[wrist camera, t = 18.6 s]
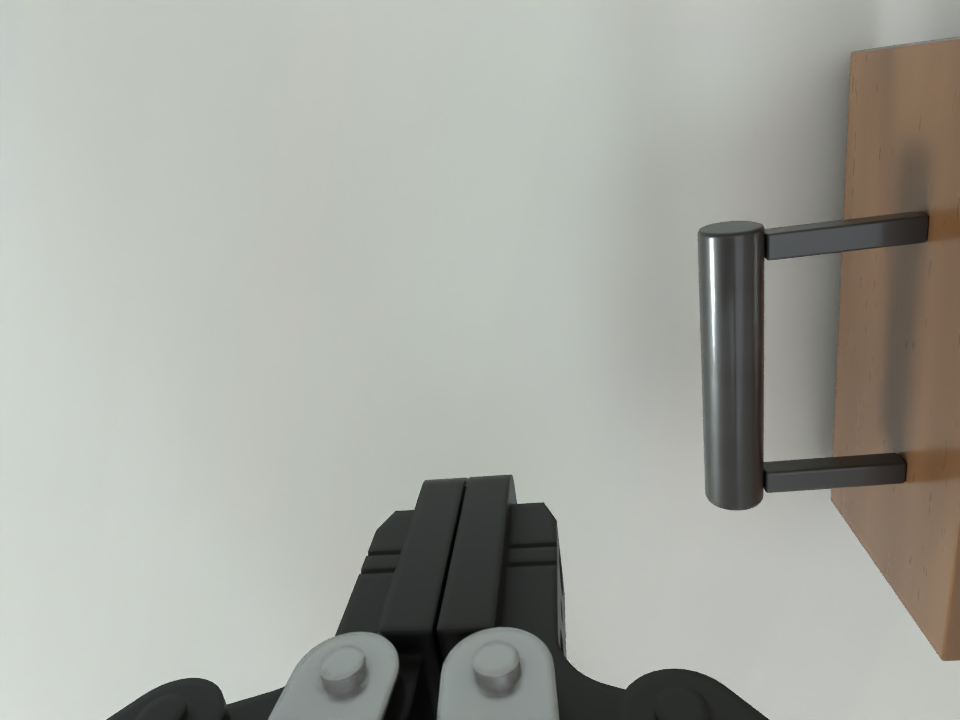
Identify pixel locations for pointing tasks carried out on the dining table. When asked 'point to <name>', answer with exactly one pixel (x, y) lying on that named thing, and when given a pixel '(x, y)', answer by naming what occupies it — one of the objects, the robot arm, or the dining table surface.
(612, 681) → the dining table surface
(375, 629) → the robot arm
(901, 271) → the drawer
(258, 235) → the dining table surface
